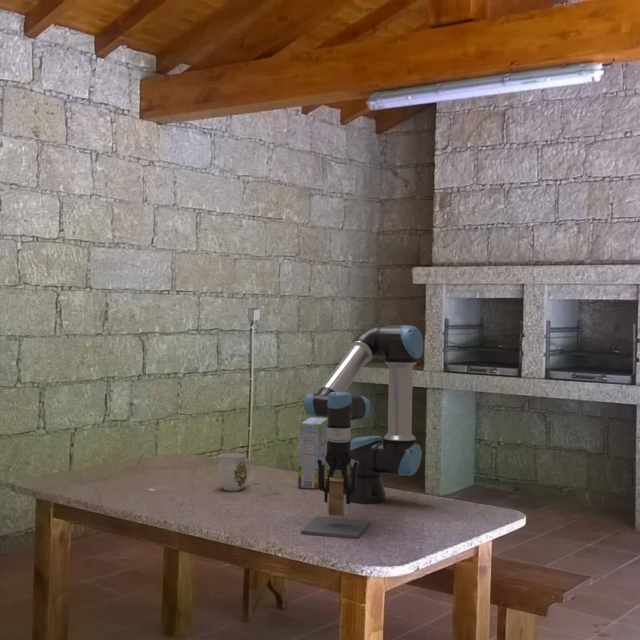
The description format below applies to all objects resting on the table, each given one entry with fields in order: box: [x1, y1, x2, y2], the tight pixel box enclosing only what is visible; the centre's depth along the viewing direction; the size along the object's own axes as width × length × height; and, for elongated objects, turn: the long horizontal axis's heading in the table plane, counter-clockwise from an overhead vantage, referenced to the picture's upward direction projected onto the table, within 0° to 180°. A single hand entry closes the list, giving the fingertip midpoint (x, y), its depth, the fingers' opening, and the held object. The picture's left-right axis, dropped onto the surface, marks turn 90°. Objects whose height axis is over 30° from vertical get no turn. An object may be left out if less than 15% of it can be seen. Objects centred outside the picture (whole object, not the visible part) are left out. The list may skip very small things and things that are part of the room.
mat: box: [300, 516, 371, 540], centre depth 276 cm, size 20×18×1 cm
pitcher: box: [217, 452, 252, 492], centre depth 335 cm, size 11×18×14 cm, turn 143°
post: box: [328, 474, 346, 517], centre depth 276 cm, size 4×4×12 cm
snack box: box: [297, 417, 328, 490], centre depth 347 cm, size 22×9×26 cm, turn 171°
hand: (337, 513), depth 276 cm, fingers closed on post, 4 cm apart
